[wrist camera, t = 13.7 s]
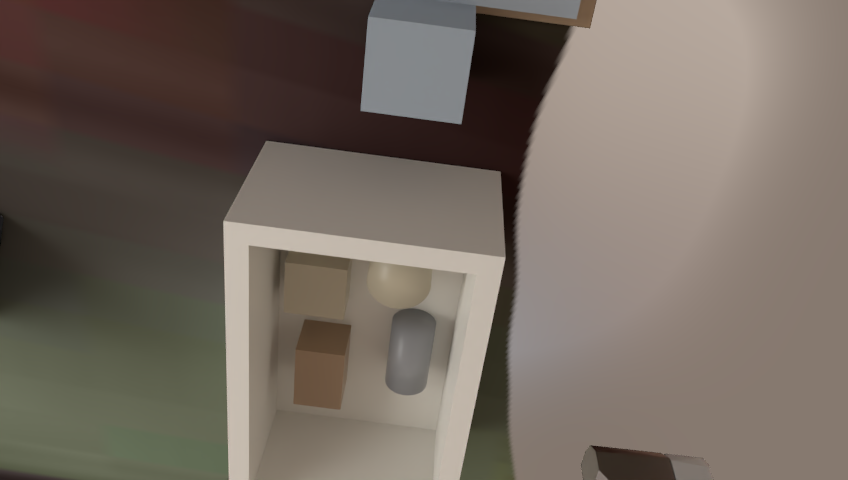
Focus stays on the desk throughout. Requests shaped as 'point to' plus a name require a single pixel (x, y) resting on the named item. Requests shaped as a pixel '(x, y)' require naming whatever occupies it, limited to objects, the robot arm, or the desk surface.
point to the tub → (357, 314)
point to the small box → (0, 223)
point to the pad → (582, 18)
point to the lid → (430, 53)
